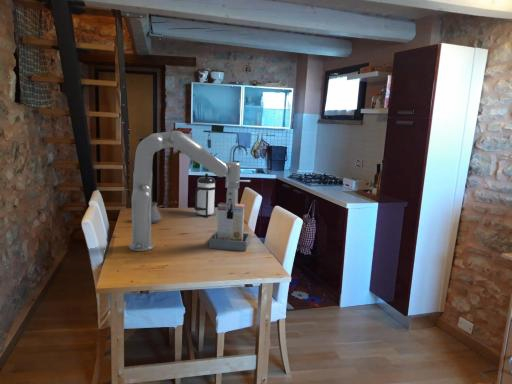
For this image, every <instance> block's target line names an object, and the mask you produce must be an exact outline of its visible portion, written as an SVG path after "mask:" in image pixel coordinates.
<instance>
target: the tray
mask: <svg viewBox="0 0 512 384" xmlns="http://www.w3.org/2000/svg"><path fill="white" fill-rule="evenodd" d="M250 239H251V234H250V233H247V232H246V233H244V232H243V241H232V240H220V239H217V230H215V231H214V232H213V234H212V235H211V236H210V237H209V239H208V248H209V249H218V250H229V251H238V252H239V251H241V252H246V251H247V249H248V246H249V244H250Z"/></svg>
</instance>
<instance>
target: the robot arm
mask: <svg viewBox="0 0 512 384" xmlns="http://www.w3.org/2000/svg"><path fill="white" fill-rule="evenodd" d="M171 148H175V149H177V150H178V151H179V152H181V153H183V155H185V156H187V157H188V158H189V159H191V160H192V161H194V162H195V163H197V164H198V165H200V166H202V167H204V168H205V169H206V170H208V171H209V172H211V173H212V174H214V176H217V177H219V178H223V177H225V185H224V186H225V188H226V202H225V203H226V205H228V209H227V219H233V206H234V207H235V206H236V205H237V204H239V201H238V200H239V189H240V180H241V179H240V178H241V163H239V162H238V161H223V160H220V159H219V158H217V157H216V156H214V155H213V154H212V153H210V151H208V150H207V149H206V148H205V147H204V146H202V145H201V144H200V143H198V142H197V141H195V140H193V138H191V137H189V136H188V135H187V134H185V133H184V132H182V131H180V130H172V131H165V132H156V133H151V134H150V135H148V136H147V137H145V138H143V139H142V140H141V141H140V142H139V144H138V145H137V147H136V148H135V149H136V150H135V156H134V157H135V158H134V167H133V168H134V171H133V173H132V175H133V177H132V178H133V182H132V184H133V185H132V194H131V243H130V244H129V245H128V249H129V250H131V251H136V252H146V251H150V250H152V249H154V247H155V244H154V243H152V224H151V202H152V186H153V159H154V155H155V153H156V152H159V151H161V150H163V149H171ZM231 205H232V206H231ZM231 207H232V208H231Z"/></svg>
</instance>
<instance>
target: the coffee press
mask: <svg viewBox="0 0 512 384" xmlns="http://www.w3.org/2000/svg"><path fill="white" fill-rule="evenodd" d="M196 181H197V182H196V183H197V186H196V187H197V188H195V191H194V194H193V209H194V210H195V212H194V215H196V216H198V215H201V216H205V218H207V219H208V216H211V215H214V216H216V214H217V213H215V201H216V200H215V199H216V198H215V197H216V196H215V195H216V180H215V178H214V177H211V176H209V174H208V173H205V174H204V176H200V177H198V179H197V180H196Z"/></svg>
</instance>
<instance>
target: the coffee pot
mask: <svg viewBox="0 0 512 384" xmlns="http://www.w3.org/2000/svg"><path fill="white" fill-rule="evenodd" d="M174 203H175V204H177V203H178V202H177V200H174V201H173V200H172V201H171V202H167V203H164V204H162V205H158V202H157V201H151V225H152V224H158V223H159V222H160V221H161V220H162V214H161V213H160V211H159V208H162V207H165V206H169V205H171V204H174Z"/></svg>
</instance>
